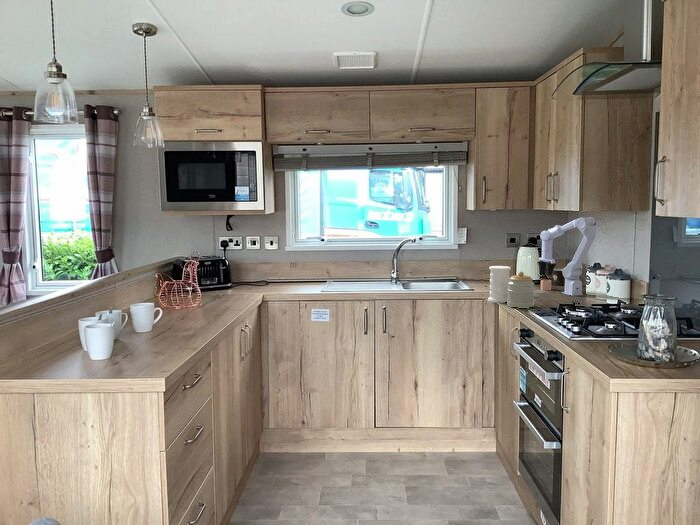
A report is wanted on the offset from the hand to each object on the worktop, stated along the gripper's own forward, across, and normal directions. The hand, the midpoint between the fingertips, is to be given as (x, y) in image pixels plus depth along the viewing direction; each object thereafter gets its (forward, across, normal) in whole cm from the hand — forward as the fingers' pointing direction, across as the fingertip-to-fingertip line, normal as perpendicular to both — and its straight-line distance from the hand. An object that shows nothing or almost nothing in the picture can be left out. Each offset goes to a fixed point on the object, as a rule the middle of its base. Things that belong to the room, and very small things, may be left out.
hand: (546, 274), depth 319 cm
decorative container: (+10, -25, +41) cm, 49 cm away
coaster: (+9, -6, +8) cm, 14 cm away
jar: (+10, -42, +38) cm, 57 cm away
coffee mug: (+10, +15, -17) cm, 25 cm away
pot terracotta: (+10, 0, 0) cm, 10 cm away
